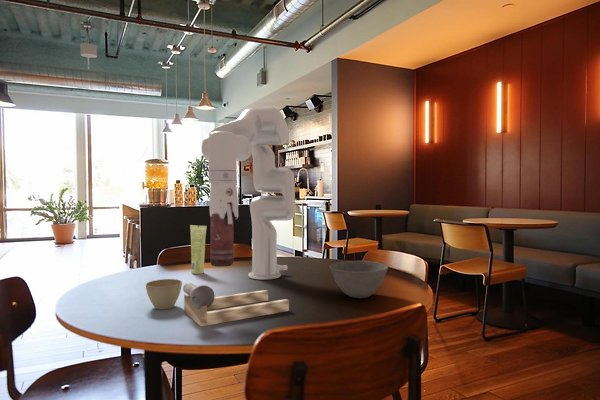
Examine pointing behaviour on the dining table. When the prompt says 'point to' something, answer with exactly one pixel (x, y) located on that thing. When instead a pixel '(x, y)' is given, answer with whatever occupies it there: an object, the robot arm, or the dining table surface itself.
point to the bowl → (358, 277)
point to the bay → (227, 305)
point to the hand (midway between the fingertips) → (222, 244)
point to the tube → (197, 248)
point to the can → (221, 242)
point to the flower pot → (164, 292)
